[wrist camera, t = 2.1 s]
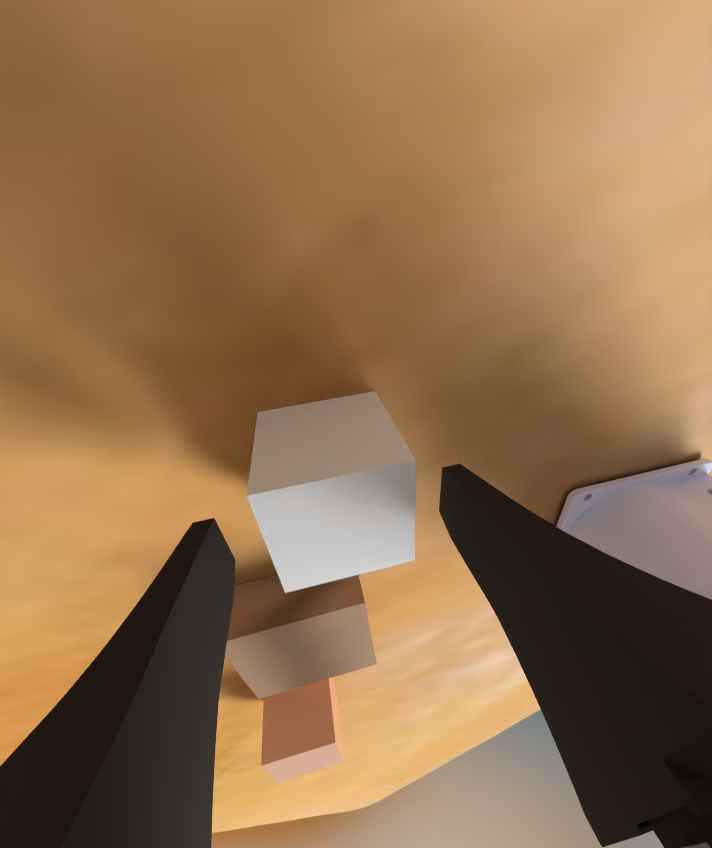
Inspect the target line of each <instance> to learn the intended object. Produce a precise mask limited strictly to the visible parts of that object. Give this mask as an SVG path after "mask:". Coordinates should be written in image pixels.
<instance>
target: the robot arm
mask: <svg viewBox="0 0 712 848" xmlns="http://www.w3.org/2000/svg"><path fill="white" fill-rule="evenodd" d="M711 469H712V461H710V460H708V459H700V460H696V461H692V462H687V463H683V464H679V465H675V466H671V467H666V468H662V469H658V470H654V471H650V472H645V473H641V474H637V475H633V476H629V477H625V478H620V479H616V480H612V481H608V482H604V483H599V484H595V485H591V486H587V487H583V488H578V489H575V490H573V491H572V492H570V493H569V495H568V496H567V499H566V502H565V504H564V507H563V510H562V512H561V515H560V518H559V520H558V523H557V526H554V525H552V524H551V523H549V522H547V521H546V520H544V519H542V518H541V517H539V516H537V515H536V514H534V513H532V512H531V511H529V510H528V509H526V508H524V507H523V506H521V505H520V504H518V503H517V502H515V501H514V500H512V499H511V498H509V497H508V496H506V495H505V494H503V493H502V492H500V491H499V490H497V489H496V488H494V487H493V486H491V485H490V484H488V483H487V482H486V481H484V480H483V479H481V478H480V477H478V476H477V475H475V474H474V473H473V472H471V471H470V470H468V469H467V468H465V467H464V466H462V465H461V464H457V465H452V466H448V467H443V468H442V479H441V493H440V507H439V512H440V514H441V516H442V519H443V521H444V523H445V526H446V528H447V530H448V532H449V534H450V537H451V539H452V541H453V542H454V544H455V546H456V548H457V549H458V551H459V553H460V554H461V556H462V558H463V559H464V561H465V563H466V564H467V566H468V568H469V569H470V571H471V573H472V574H473V576H474V578H475V579H476V581H477V583H478V584H479V586H480V588H481V589H482V591H483V593H484V594H485V596H486V598H487V599H488V601H489V603H490V605H491V606H492V608H493V610H494V612H495V614H496V615H497V617H498V619H499V621H500V623H501V625H502V627H503V629H504V631H505V633H506V635H507V637H508V639H509V641H510V644H511V646H512V648H513V650H514V652H515V654H516V656H517V658H518V660H519V662H520V665H521V667H522V669H523V671H524V673H525V675H526V677H527V680H528V682H529V684H530V686H531V688H532V690H533V693H534V695H535V697H536V699H537V702H538V704H539V706H540V708H541V711H542V713H543V715H544V717H545V720H546V722H547V724H548V727H549V729H550V731H551V733H552V736H553V738H554V740H555V743H556V745H557V747H558V750H559V752H560V754H561V757H562V759H563V762H564V764H565V767H566V769H567V771H568V774H569V776H570V779H571V781H572V784H573V786H574V788H575V791H576V793H577V796H578V798H579V801H580V804H581V806H582V809H583V811H584V814H585V816H586V818H587V820H588V822H589V823H590V825H591V827H592V829H593V831H594V833H595V835H596V837H597V839H598V841H599V843H600V844H601V845H602V847H605V846H608V845H611V844H614V843H617V842H620V841H624V840H627V839H630V838H633V837H636V836H640V835H642V834H645V833H647V832H650V831H652V830H653V831H654V832H655V834H656V835H657V837H658V839H659V840H660V842H661V843H662V845H663V847H664V848H712V476H710V475H708V474H709V472H710V471H711ZM234 585H235V558H234V556H233V554H232V553H231V551H230V549H229V547H228V545H227V543H226V541H225V539H224V537H223V535H222V533H221V531H220V529H219V527H218V525H217V523H216V521H215V519H214V518H212V519H208V520H203V521H199V522H194V523H192V525H191V526H190V528H189V529H188V530H187V532H186V533H185V535H184V536H183V538H182V539H181V541H180V542H179V544H178V545H177V547H176V548H175V550H174V551H173V553H172V554H171V556H170V557H169V559H168V560H167V562H166V563H165V565H164V566H163V568H162V569H161V571H160V572H159V573H158V575H157V576H156V578H155V579H154V581H153V582H152V583H151V585H150V586H149V588H148V589H147V591H146V592H145V593H144V595H143V596H142V598H141V599H140V601H139V602H138V603H137V605H136V606H135V607H134V609H133V610H132V611H131V613H130V614H129V615H128V617H127V618H126V619H125V621H124V622H123V623H122V625H121V626H120V627H119V629H118V630H117V631H116V633H115V634H114V635H113V637H112V638H111V639H110V641H109V642H108V643H107V644H106V646H105V647H104V648H103V650H102V651H101V652H100V653H99V655H98V656H97V657H96V658H95V660H94V661H93V662H92V663H91V664H90V666H89V667H88V668H87V669H86V671H85V672H84V673H83V674H82V675H81V677H80V678H79V679H78V680H77V681H76V682H75V684H74V685H73V686H72V687H71V688H70V690H69V691H68V692H67V693H66V694H65V696H64V697H63V698H62V699H61V700H60V701H59V702H58V704H57V705H56V706H55V707H54V708H53V709H52V710H51V711H50V712H49V714H48V715H47V716H46V717H45V718H44V719H43V720H42V721H41V722H40V723H39V725H38V726H37V727H36V728H35V729H34V730H33V731H32V732H31V733H30V734H29V735H28V737H27V738H26V739H25V740H24V741H23V742H22V743H21V744H20V745H19V746H18V748H17V749H16V750H15V751H14V752H13V753H12V754H11V755H10V756H9V757H8V758H7V760H6V761H5V762H4V763H3V764H2V765H1V766H0V848H211V834H212V803H213V782H214V762H215V744H216V729H217V715H218V701H219V693H220V684H221V677H222V671H223V664H224V658H225V651H226V645H227V638H228V632H229V626H230V619H231V612H232V606H233V599H234Z"/></svg>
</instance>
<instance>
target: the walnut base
mask: <svg viewBox="0 0 712 848" xmlns="http://www.w3.org/2000/svg"><path fill="white" fill-rule="evenodd" d="M225 658H226V659H227V660H228V662H229V663H230V664H231V665H232V667H233V668H234V669H235V670H236V672H237V673H238V674H239V675H240V677H241V678H242V679H243V680H244V682H245V683H246V684H247V685H248V687H249V688H250V689H251V690H252V692H253V693H254V694H255V695H256V697H257V698H258V699H262V698H265V697H269V696H272V695H275V694H279V693H282V692H285V691H289V690H292V689H295V688H299V687H302V686H305V685H309V684H312V683H315V682H318V681H322V680H325V679H328V678H332V677H335V676H338V675H342V674H345V673H348V672H352V671H355V670H358V669H362V668H365V667H368V666H372V665H375V664H376V659H375V653H374V648H373V643H372V638H371V633H370V628H369V623H368V617H367V612H366V607H365V602H364V598H363V593H362V589H361V585H360V580H359V576H358V575H355V576H351V577H347V578H343V579H339V580H335V581H331V582H327V583H323V584H319V585H315V586H311V587H307V588H303V589H299V590H295V591H291V592H287V593H285V591H284V589H283V586H282V584H281V581H280V579H279V576H278V574H277V575H273V576H269V577H265V578H261V579H258V580H254V581H250V582H246V583H242V584H238V585H234V599H233V606H232V612H231V619H230V626H229V632H228V638H227V645H226V651H225Z"/></svg>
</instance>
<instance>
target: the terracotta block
mask: <svg viewBox="0 0 712 848" xmlns="http://www.w3.org/2000/svg"><path fill="white" fill-rule="evenodd" d="M341 762H344V757H343V748H342V740H341V731H340V723H339V714H338V706H337V697H336V689H335V683H334V680H333V677H332V678H328V679H325V680H322V681H318V682H315V683H312V684H309V685H305V686H302V687H299V688H295V689H292V690H289V691H285V692H282V693H279V694H275V695H272V696H269V697H265V698H264V709H263V735H262V761H261V766H262V767H263V768H264V769H265V770H266V771H267V772H268V773H269V774H270V775H271V776H272V777H274V778H275V779H276V780H277V781H278V782H281V781H285V780H288V779H291V778H294V777H297V776H300V775H303V774H306V773H310V772H313V771H316V770H319V769H322V768H325V767H328V766H331V765H335V764H338V763H341Z"/></svg>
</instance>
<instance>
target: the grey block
mask: <svg viewBox="0 0 712 848" xmlns="http://www.w3.org/2000/svg"><path fill="white" fill-rule="evenodd" d="M415 489H416V460H415V458H414V456H413V455H412V453H411V451H410V450H409V448H408V446H407V444H406V443H405V441H404V439H403V438H402V436H401V434H400V433H399V431H398V429H397V428H396V426H395V424H394V423H393V421H392V419H391V417H390V416H389V414H388V412H387V411H386V409H385V407H384V406H383V404H382V402H381V401H380V399H379V397H378V395H377V394H376V392H375V391H372V392H366V393H361V394H355V395H350V396H344V397H339V398H333V399H328V400H322V401H316V402H311V403H305V404H300V405H294V406H289V407H283V408H278V409H272V410H267V411H261V412H258V413H257V421H256V429H255V436H254V444H253V451H252V459H251V467H250V474H249V482H248V490H247V498H248V500H249V503H250V506H251V508H252V511H253V513H254V516H255V518H256V521H257V523H258V526H259V528H260V531H261V533H262V536H263V538H264V541H265V543H266V546H267V548H268V551H269V553H270V556H271V558H272V561H273V564H274V566H275V569H276V571H277V574H278V576H279V579H280V581H281V584H282V586H283V589H284V591H285V593H287V592H291V591H295V590H299V589H303V588H307V587H311V586H315V585H319V584H323V583H327V582H331V581H335V580H339V579H343V578H347V577H351V576H355V575H359V574H363V573H367V572H371V571H375V570H379V569H383V568H387V567H391V566H395V565H399V564H403V563H407V562H411V561H415Z"/></svg>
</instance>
